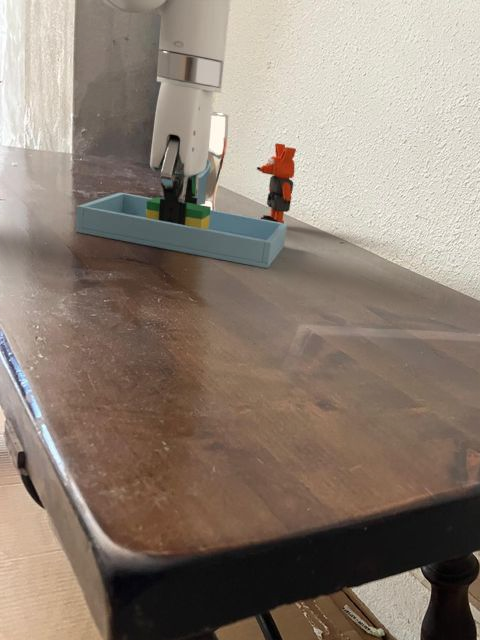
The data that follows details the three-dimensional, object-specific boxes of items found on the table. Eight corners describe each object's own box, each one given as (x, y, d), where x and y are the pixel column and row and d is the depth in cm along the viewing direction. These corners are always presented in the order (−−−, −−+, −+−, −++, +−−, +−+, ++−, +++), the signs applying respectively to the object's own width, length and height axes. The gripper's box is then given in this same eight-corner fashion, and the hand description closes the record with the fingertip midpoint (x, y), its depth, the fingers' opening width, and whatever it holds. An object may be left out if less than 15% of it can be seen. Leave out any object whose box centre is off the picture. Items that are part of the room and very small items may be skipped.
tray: (75, 232, 90) (76, 205, 89) (118, 215, 104) (120, 192, 103) (267, 268, 90) (271, 242, 88) (284, 246, 104) (287, 224, 103)
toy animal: (243, 217, 120) (253, 138, 115) (274, 220, 122) (285, 144, 117) (258, 228, 113) (269, 145, 109) (291, 231, 116) (303, 150, 111)
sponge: (144, 233, 93) (146, 200, 91) (154, 228, 97) (157, 196, 95) (199, 244, 93) (202, 211, 91) (207, 238, 97) (210, 206, 95)
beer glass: (185, 221, 108) (196, 111, 102) (164, 211, 113) (173, 105, 107) (227, 224, 112) (239, 117, 106) (205, 213, 117) (216, 111, 111)
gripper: (177, 71, 95) (165, 216, 102) (136, 64, 80) (125, 235, 87) (235, 81, 95) (219, 226, 102) (205, 77, 79) (188, 247, 87)
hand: (176, 228), depth 94 cm, fingers closed on sponge, 4 cm apart
